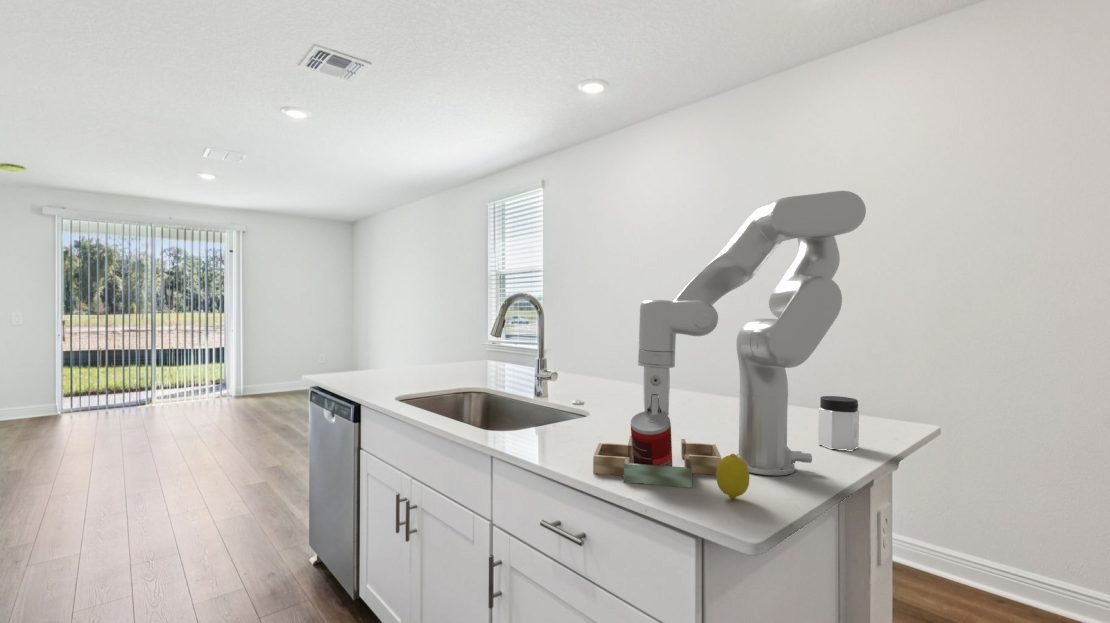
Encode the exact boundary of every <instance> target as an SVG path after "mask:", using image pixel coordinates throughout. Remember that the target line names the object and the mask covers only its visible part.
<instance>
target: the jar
mask: <svg viewBox="0 0 1110 623" xmlns="http://www.w3.org/2000/svg"><path fill="white" fill-rule="evenodd" d="M819 399H820V400H819V401H820V407H819V408H818V422H817V423H818V426H817V427H818V428H817V430H818V431H817V433H818V434H817V435H818V436H817V437H818V438H817V440H818V441H817V445H818V444H821V445H824V446H827V447H830V448H834V449H847V450H854V449H855V448H856V447H858V448H859V445H860V444H859V443H860V442H859V440H860V439H859V437H860V435H859V433H860V432H859V430H860V426H859V425H860V410H859V401H858V399H856V398H853V397H848V396H847V397H846V396H840V395H839V396H838V395H822V396H821V397H820V398H819ZM854 451H855V450H854Z"/></svg>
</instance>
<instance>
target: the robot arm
mask: <svg viewBox="0 0 1110 623" xmlns="http://www.w3.org/2000/svg"><path fill="white" fill-rule="evenodd" d="M866 213H867V208H866V204H865V202H864V200H863V199H862V197H860V196H859V195H858V194H857V193H855V192H853V191H849V190H835V191H834V190H833V191H828V192H827V191H826V192H819V193H811V194H802V195H795V196H794V195H792V196H787V197H782V198H779V199H776V200H774V201H771V202H768V203H766V204H764V205H761V206H759V207H758V208H757V209H755V210H754V211H753V212H752V213H751V214H750V215H749V217H747V219H746V220H745V222H744V223H742V225H741V226H740V227H739V229H738V230H737V231H736V233H735V234H734V235H733V236H732V237H731V238H730V240H729V241H728V243H727V244H726V245H725V246H724V247H723V248H722V250H721V251H720V252H719V253H718V254H717V256H715V257H714V258H713V259H712V260H711V261H710V262H709V263H708V264H706V266H705V267H704V268H703V269H702V270H701V271H700V272H699V273H698V274H696V276H694V277H693V278H692V279H691V280H690V281H689V282H688V283H687V285H686V286H685V287H684V288H683V289H682V290H681V291H680V293H679V294H678V295H677V297H675V299H674V300H667V299H646V300H644V301H642V302H641V304H640V308H639V329H638V330H639V332H638V335H639V336H638V360H637V361H638V362H637V364H638V365H637V366H639V367H643V388H642V389H643V391H642V392H643V409H644V411H643V412H646V413H649V412H647V411H652V414H651V415H657V414H658V412H662V413H664V414H666V415H667V416H668V417H669V415H670V414H669V413H670V391H671V390H670V388H671V387H670V386H671V383H670V382H671V379H670V378H671V376H670V372H671V370H670V368H675V367H676V339H677V334H678V335H685V336H691V337H704V336H707V335H709V334H710V333H712V332H713V331H714V330H716V327H717V325H718V323H719V314H718V311H717V309H716V308H715V307H714V306H713V305H714V304H715V303H716V302H718V301H719V300H720V299H721V298H723V297H724V296H725V295H727V294H728V293H729V292H732V291H734V290H737V289H738V288H740V287H742V286H743V285H745V284H746V283H747V282H749V281H751V279H753V278H754V276H756V274H757V273H758V272H759V270H760V269H761V268H762V266H764V264H765V263H766V262H767V261H768V259H769V258H770V256H772V254H773V253H774V252H775V251H776V249H777V248H778V247H779V245H781V244H782V242H785V241H790V240H794V239H797V242H798V250H797V254H796V256H795V258H794V259H793V261H792V263H791V265H790V266H789V268H788V269H787V271H786V272H785V273H784V275H782V278H781V279H780V280H779V282H778V283H777V285H776V286H775V287H774V289H773V291H772V292H771V294H770V296H769V299H768V308H769V309H770V310H769V311H770V312H771V313H772V315H773V316H774V317H776V318H757V319H756V318H755V319H753V320H750V321H748V322H746V323H745V324H744V325H742V327H741V328H740V329H739V331H738V333H737V336H736V353H737V360H738V368H739V370H738V371H739V402H738V403H739V404H738V405H739V411H738V412H739V413H738V414H739V415H738V417H739V418H738V454H737V453H736V454H735V455H736V456H738V457H739V458H741V459H742V460H743V461H744V462H745V463H746V465H747V467H748V471H749V474H757V475H763V476H786V475H791V474H793V473H794V472H795V469H796V468H795V467H796V465H795V464H796V462H799V463H800V462H801V463H805V464H812V462H813V455H812V453H811V452H810V453H809V452H802V451H801V450H791V449H790V447H788V409H789V408H788V407H789V406H788V403H789V402H788V400H789V399H788V398H789V397H788V396H789V383H788V376H787V372H786V369H791V368H796V367H798V366H800V365H803V363H805V362H806V361H807V360H808V359H809V358H810V357H811V356H812V354H813V353H814V351H815V350H816V349H817V348H818V346H819V344H820V343H821V341H822V340H823V338H824V337H825V335H827V333H828V332H829V330H830V329H831V327H832V326H833V324H834V322H835V321H836V319H837V318H838V316H839V314H840V312H841V309H842V304H843V295H842V290H841V289H840V287H839V284H837V282H835V281H834V280H833V279H834V277H835V275H836V273H837V272H838V270H839V267H840V262H841V261H840V260H841V257H840V251H839V247H838V244H837V239H836V236H840V235H845V234H848V233H851V232H853V231H855V230H856V229H858V228H860V226H861V225H862V223H863V222H864V221H865V217H866Z"/></svg>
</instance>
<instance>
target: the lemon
mask: <svg viewBox="0 0 1110 623" xmlns="http://www.w3.org/2000/svg"><path fill="white" fill-rule="evenodd" d="M736 455H737V454H735V453H730V455H729V454H728V455H725V456H724V457H722V458H721V461H720V462H719V464H718V467H717V472H716V475H715V477H716V483H717V486H718V488H719V490H720V491H721V492H722V493H723V494H725V495H727V496H728V497H729V499H730V500H734V499H736V498H737V497H740V496H742V495H744V494H745V493H746V492H747V490H748V488H749V486H750V472H749V471H748V467H747V465H746V463H745V462H744V461H743V460H742V459H741V458H739V457H738V456H736Z"/></svg>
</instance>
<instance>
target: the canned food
mask: <svg viewBox="0 0 1110 623" xmlns="http://www.w3.org/2000/svg"><path fill="white" fill-rule="evenodd" d="M647 412H649V413H646V412H644V411H642V412H638V413H636V414H635V415H634V416H632V417H631V419H630V436H631V437H632V450H633V455H632V462H633V463H632V464H646V465H660V466H673V446H672V443H673V442H672V426H671V423H672V422H671V419H670V416H669V415H668V416H667V415H666V414H664V413H662V412H658V414H657V415H651V414H652V411H647Z"/></svg>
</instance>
